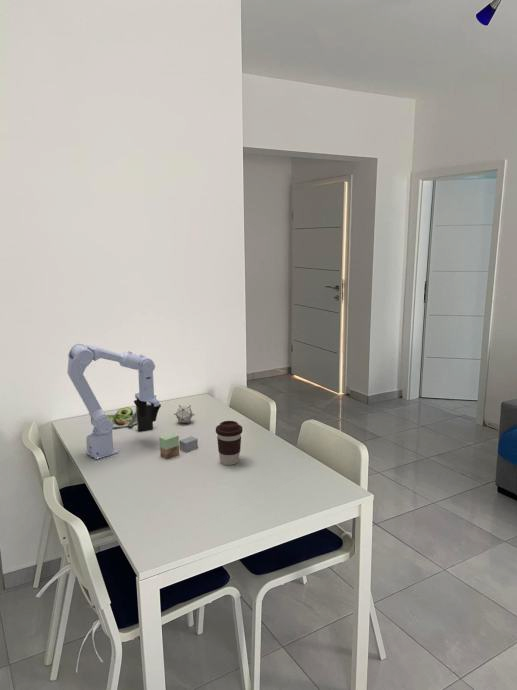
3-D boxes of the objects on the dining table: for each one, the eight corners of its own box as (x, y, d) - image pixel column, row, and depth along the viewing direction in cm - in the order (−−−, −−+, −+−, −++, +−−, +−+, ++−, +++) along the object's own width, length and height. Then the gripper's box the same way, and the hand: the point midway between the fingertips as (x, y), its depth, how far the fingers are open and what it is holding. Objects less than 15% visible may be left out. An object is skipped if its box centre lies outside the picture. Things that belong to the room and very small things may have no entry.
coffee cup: (239, 468, 193) (238, 429, 190) (213, 465, 195) (212, 427, 192) (245, 456, 203) (245, 419, 199) (220, 454, 204) (219, 418, 201)
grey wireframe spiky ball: (180, 430, 239) (170, 411, 240) (197, 421, 241) (186, 402, 243) (181, 427, 230) (170, 407, 232) (198, 418, 233) (188, 398, 235)
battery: (151, 426, 233) (150, 402, 231) (153, 429, 230) (152, 404, 227) (135, 429, 230) (134, 404, 228) (137, 432, 227) (136, 406, 224)
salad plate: (148, 426, 234) (148, 416, 233) (108, 433, 226) (107, 423, 225) (137, 413, 251) (136, 404, 250) (98, 419, 243) (98, 410, 242)
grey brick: (185, 452, 206) (185, 443, 206) (179, 449, 209) (179, 440, 208) (197, 448, 211) (197, 439, 210) (191, 445, 213) (191, 436, 213)
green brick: (165, 449, 199) (165, 440, 199) (159, 446, 202) (159, 437, 201) (178, 445, 203) (178, 435, 203) (173, 442, 206) (172, 432, 205)
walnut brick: (166, 459, 200) (166, 449, 199) (160, 456, 203) (160, 446, 202) (179, 454, 204) (179, 445, 204) (173, 451, 207) (173, 442, 206)
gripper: (165, 388, 208) (166, 420, 211) (144, 380, 218) (146, 412, 221) (150, 392, 203) (151, 425, 206) (129, 384, 213) (131, 416, 216)
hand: (147, 418), depth 213 cm, fingers open, 7 cm apart
